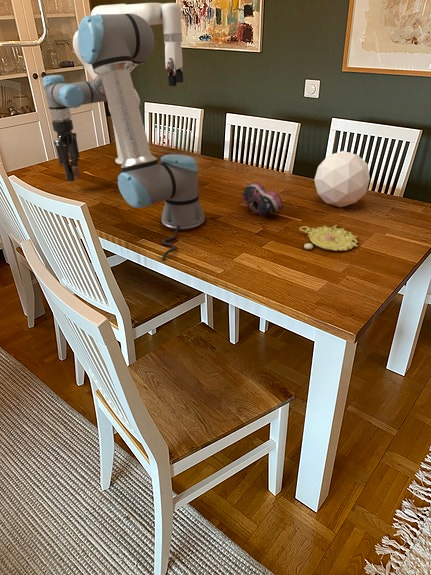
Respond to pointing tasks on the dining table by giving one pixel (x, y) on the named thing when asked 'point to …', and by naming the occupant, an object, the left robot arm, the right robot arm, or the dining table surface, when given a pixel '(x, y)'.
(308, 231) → the decorative object
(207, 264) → the dining table surface
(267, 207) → the athletic shoe
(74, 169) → the block
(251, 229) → the dining table surface
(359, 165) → the sphere
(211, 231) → the dining table surface
